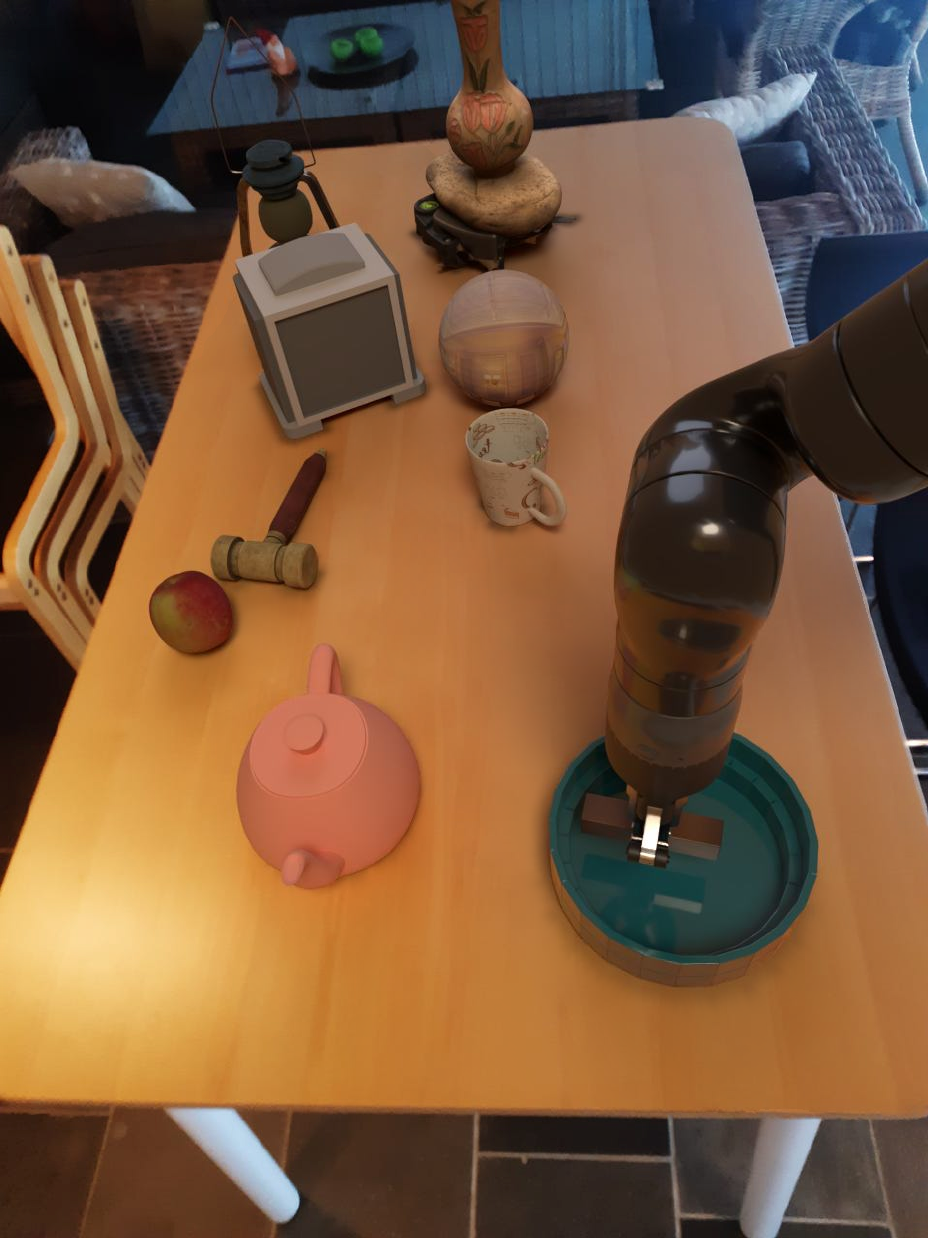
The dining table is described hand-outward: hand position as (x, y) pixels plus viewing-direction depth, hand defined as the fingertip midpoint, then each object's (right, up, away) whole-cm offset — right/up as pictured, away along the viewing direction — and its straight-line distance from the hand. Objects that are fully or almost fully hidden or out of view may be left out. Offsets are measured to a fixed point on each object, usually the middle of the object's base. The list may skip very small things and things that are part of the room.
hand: (650, 831), depth 66 cm
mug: (-7, +27, +29) cm, 40 cm away
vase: (-10, +72, +64) cm, 96 cm away
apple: (-40, +14, +23) cm, 48 cm away
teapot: (-25, -1, +9) cm, 27 cm away
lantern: (-36, +61, +59) cm, 92 cm away
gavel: (-32, +27, +32) cm, 53 cm away
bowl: (+3, -3, +4) cm, 6 cm away
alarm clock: (-29, +45, +46) cm, 70 cm away
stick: (0, 0, 0) cm, 0 cm away
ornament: (-9, +43, +42) cm, 61 cm away
